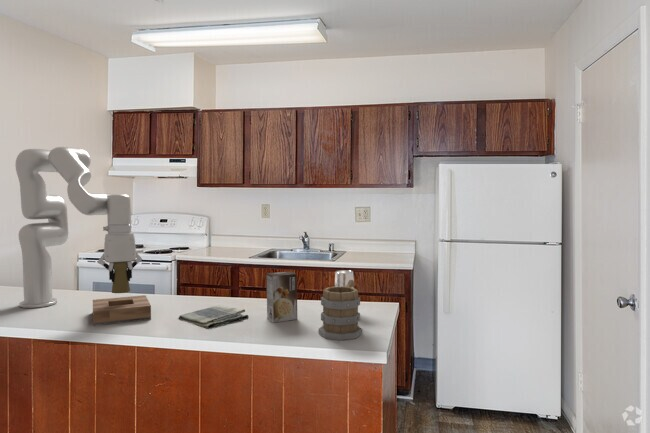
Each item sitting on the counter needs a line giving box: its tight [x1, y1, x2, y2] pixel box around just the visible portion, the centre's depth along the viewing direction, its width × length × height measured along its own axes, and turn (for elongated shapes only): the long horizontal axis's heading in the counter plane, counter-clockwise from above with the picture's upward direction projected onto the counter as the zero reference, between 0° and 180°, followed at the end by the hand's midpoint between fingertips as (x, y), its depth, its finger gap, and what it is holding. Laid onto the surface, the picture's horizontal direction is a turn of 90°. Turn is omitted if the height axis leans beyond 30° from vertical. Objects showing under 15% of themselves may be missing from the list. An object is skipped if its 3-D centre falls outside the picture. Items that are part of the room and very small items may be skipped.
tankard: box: [318, 280, 363, 341], centre depth 152 cm, size 20×13×15 cm, turn 157°
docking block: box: [92, 294, 152, 326], centre depth 168 cm, size 18×18×5 cm
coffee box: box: [266, 271, 298, 323], centre depth 165 cm, size 9×6×16 cm
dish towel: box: [178, 305, 249, 329], centre depth 166 cm, size 19×18×3 cm
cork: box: [111, 262, 131, 294], centre depth 168 cm, size 6×6×11 cm
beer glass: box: [334, 269, 355, 288], centre depth 175 cm, size 7×7×15 cm
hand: (120, 280), depth 168 cm, fingers closed on cork, 4 cm apart
